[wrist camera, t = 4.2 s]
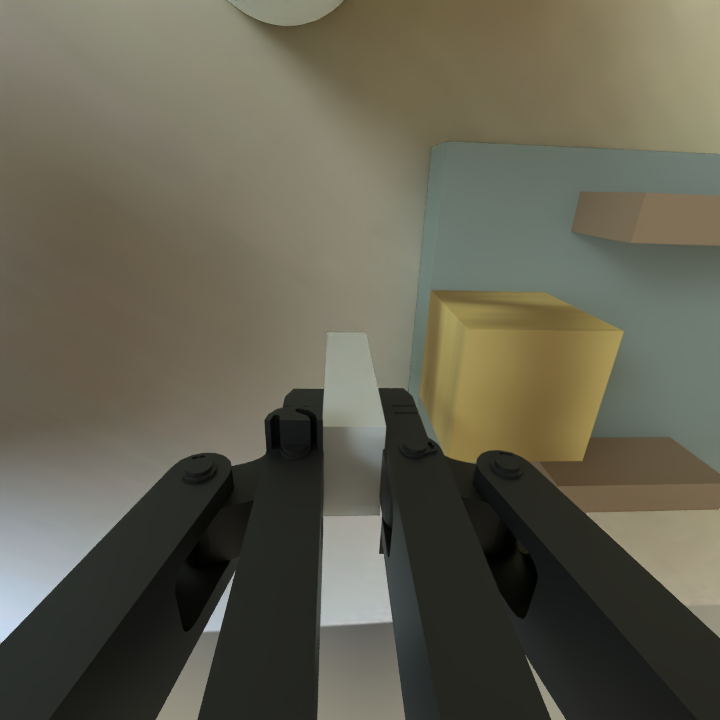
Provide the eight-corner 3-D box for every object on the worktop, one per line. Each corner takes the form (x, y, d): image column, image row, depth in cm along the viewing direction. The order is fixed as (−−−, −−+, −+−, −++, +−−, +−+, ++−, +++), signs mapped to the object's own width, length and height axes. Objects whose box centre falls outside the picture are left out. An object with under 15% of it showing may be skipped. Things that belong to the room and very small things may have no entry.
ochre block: (419, 394, 19) (447, 462, 14) (430, 290, 17) (467, 329, 12) (522, 394, 19) (582, 461, 14) (545, 292, 17) (624, 330, 12)
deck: (401, 457, 23) (423, 541, 18) (431, 147, 17) (479, 127, 11) (824, 453, 25) (960, 526, 19) (997, 173, 18) (1270, 167, 13)
